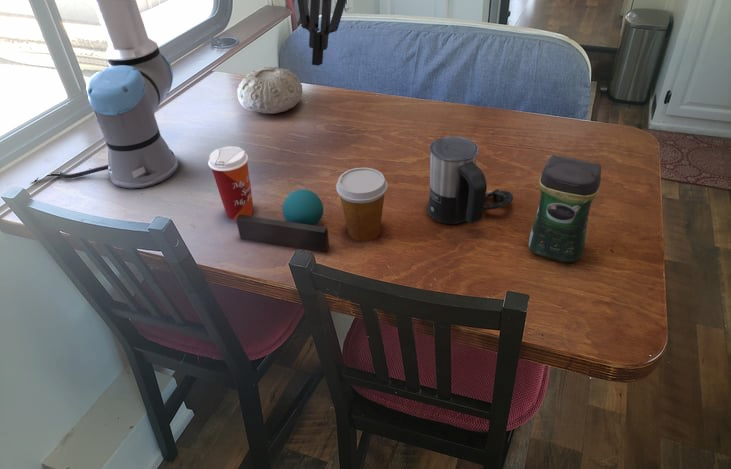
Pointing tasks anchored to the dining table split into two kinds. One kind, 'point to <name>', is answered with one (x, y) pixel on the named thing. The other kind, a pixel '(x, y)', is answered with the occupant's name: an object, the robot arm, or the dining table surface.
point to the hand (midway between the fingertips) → (317, 64)
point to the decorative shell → (269, 90)
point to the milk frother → (459, 183)
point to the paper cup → (232, 180)
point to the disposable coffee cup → (362, 201)
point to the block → (283, 233)
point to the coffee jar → (564, 208)
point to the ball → (303, 207)
